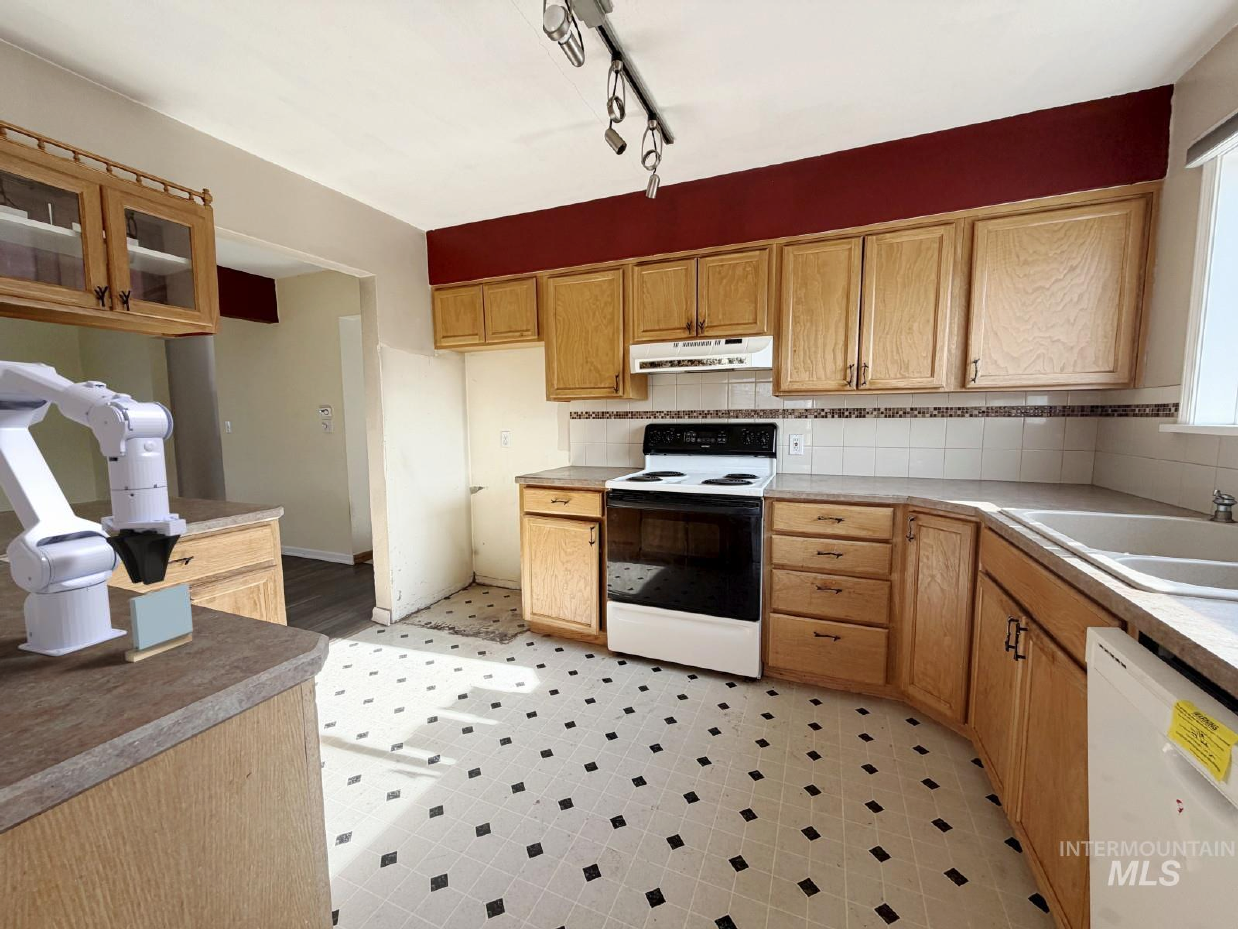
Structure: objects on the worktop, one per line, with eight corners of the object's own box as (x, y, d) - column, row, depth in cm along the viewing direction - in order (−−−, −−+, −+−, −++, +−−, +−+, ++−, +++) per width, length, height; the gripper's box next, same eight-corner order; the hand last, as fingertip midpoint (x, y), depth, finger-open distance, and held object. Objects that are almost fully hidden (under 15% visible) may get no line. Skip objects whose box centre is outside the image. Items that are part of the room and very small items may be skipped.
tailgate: (134, 651, 67) (129, 599, 66) (187, 632, 73) (183, 584, 72) (140, 652, 66) (135, 599, 66) (193, 633, 73) (188, 584, 72)
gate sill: (125, 660, 67) (125, 652, 67) (184, 639, 74) (183, 631, 74) (134, 662, 66) (133, 653, 66) (192, 640, 73) (191, 632, 73)
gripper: (207, 485, 70) (214, 577, 71) (140, 483, 75) (148, 570, 76) (147, 492, 64) (156, 593, 65) (78, 489, 68) (87, 584, 69)
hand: (148, 582), depth 70 cm, fingers closed
